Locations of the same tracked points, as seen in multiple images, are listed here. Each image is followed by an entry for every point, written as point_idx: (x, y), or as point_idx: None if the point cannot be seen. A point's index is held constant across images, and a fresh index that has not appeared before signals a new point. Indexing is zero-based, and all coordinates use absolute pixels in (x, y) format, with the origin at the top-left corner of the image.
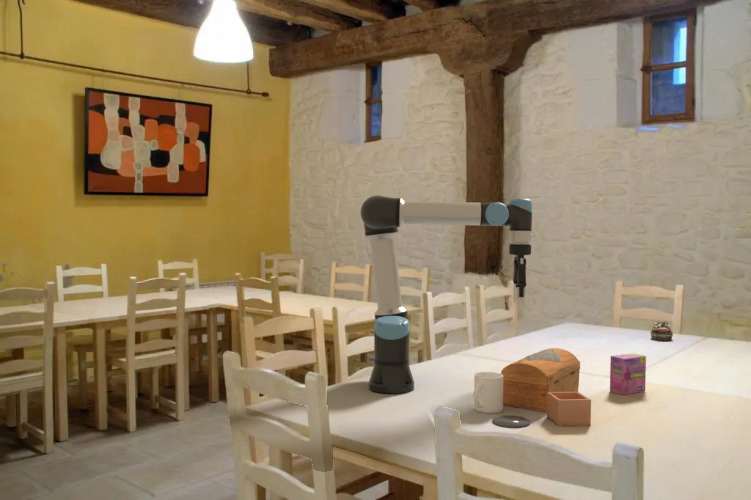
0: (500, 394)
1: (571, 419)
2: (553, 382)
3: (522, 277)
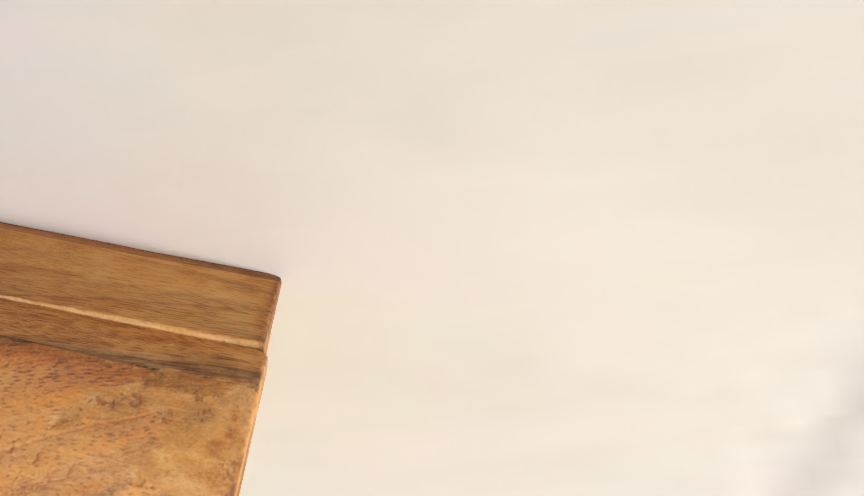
0: None
1: None
2: None
3: None
